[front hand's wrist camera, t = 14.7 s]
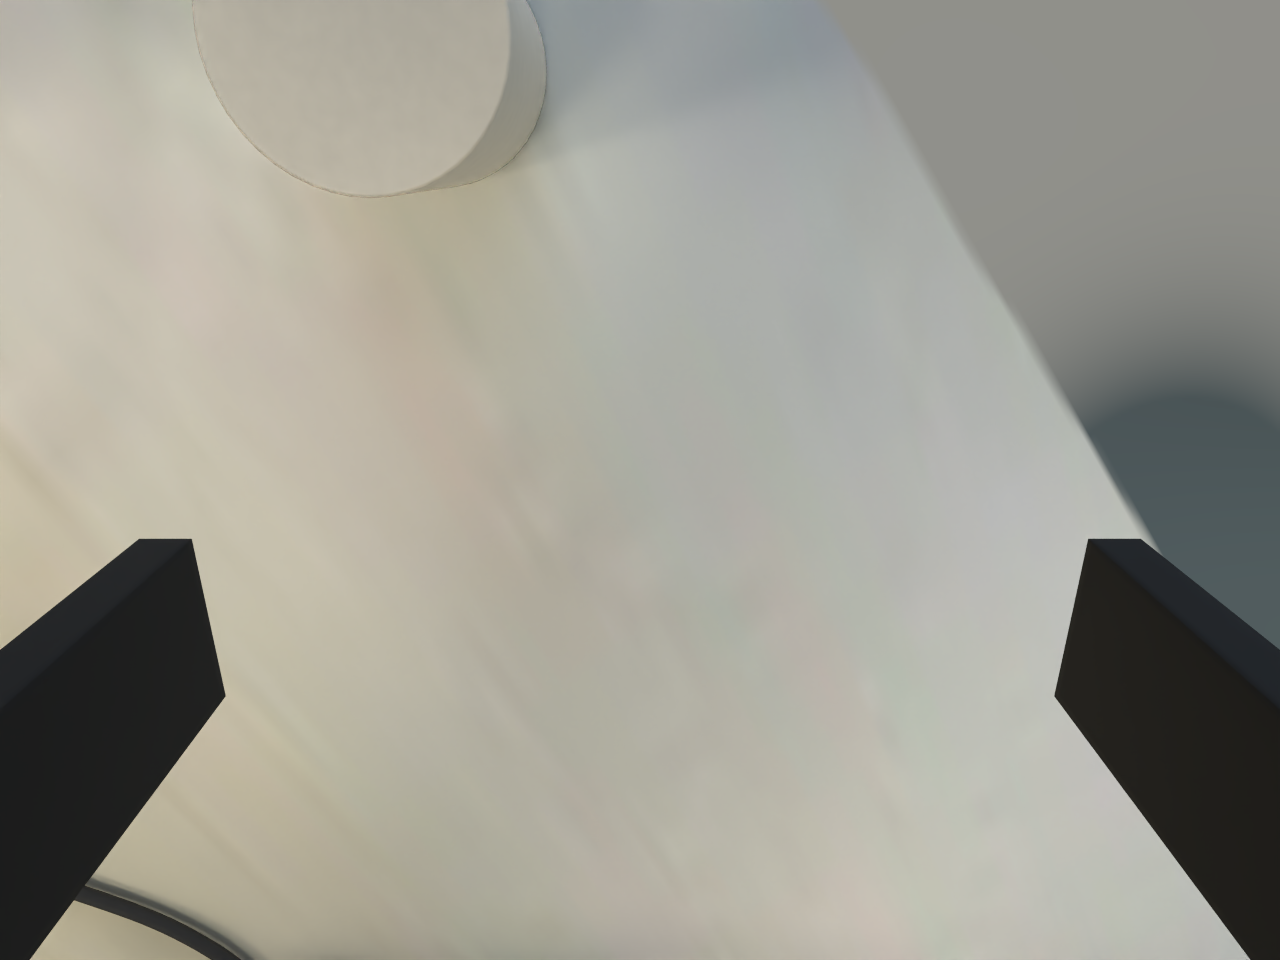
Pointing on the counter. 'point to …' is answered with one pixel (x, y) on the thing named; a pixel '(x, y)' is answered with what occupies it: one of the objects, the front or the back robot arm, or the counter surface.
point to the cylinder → (377, 87)
